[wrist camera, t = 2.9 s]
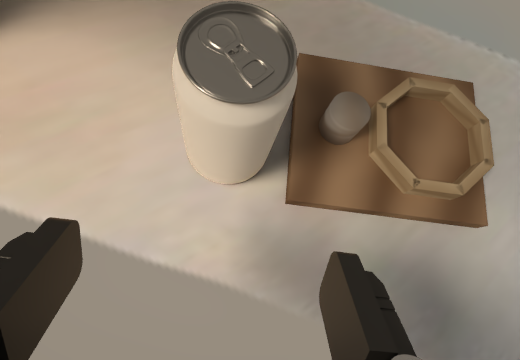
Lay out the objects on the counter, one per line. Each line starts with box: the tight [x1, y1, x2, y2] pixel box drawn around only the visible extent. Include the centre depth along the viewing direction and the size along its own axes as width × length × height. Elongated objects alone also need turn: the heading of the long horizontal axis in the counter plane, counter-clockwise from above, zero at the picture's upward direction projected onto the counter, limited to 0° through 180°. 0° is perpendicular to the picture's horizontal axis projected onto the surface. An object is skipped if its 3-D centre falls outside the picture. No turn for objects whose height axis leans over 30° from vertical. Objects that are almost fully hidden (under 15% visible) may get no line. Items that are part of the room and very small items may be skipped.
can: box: [172, 1, 297, 184], centre depth 22 cm, size 6×6×12 cm
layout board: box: [285, 53, 494, 228], centre depth 27 cm, size 16×13×4 cm
